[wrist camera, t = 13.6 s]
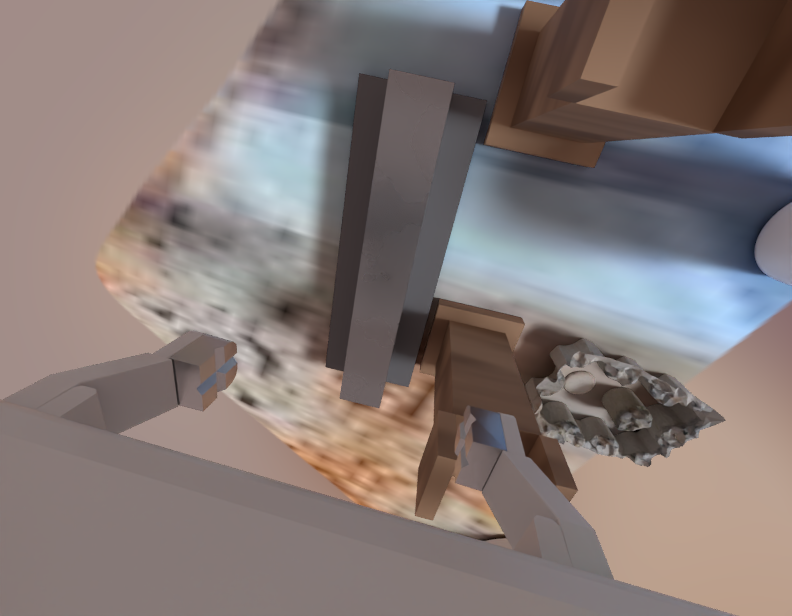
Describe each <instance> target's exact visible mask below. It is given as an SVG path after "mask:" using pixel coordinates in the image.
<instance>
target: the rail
mask: <svg viewBox="0 0 792 616" xmlns="http://www.w3.org/2000/svg"><path fill="white" fill-rule="evenodd" d="M453 89H454V83H453V82H449V81H444V80H439V79H435V78H430V77H425V76H421V75H416V74H411V73H406V72H402V71H397V70H392V69H389V76H388V82H387V89H386V95H385V102H384V109H383V115H382V122H381V128H380V135H379V142H378V148H377V155H376V162H375V168H374V175H373V181H372V188H371V195H370V201H369V208H368V214H367V221H366V228H365V234H364V241H363V248H362V254H361V261H360V267H359V274H358V281H357V287H356V294H355V300H354V307H353V314H352V320H351V327H350V334H349V340H348V347H347V353H346V360H345V367H344V373H343V380H342V386H341V393H340V399H344V400H348V401H352V402H356V403H360V404H364V405H368V406H372V407H376V408H379V407H380V403H381V399H382V395H383V391H384V387H385V383H386V379H387V375H388V370H389V366H390V362H391V357H392V353H393V349H394V345H395V340H396V336H397V332H398V327H399V323H400V319H401V314H402V310H403V306H404V301H405V297H406V293H407V289H408V284H409V280H410V276H411V271H412V267H413V263H414V258H415V254H416V250H417V245H418V241H419V237H420V233H421V228H422V224H423V220H424V215H425V211H426V207H427V202H428V198H429V194H430V189H431V185H432V181H433V177H434V172H435V168H436V164H437V159H438V155H439V151H440V146H441V142H442V138H443V134H444V129H445V125H446V121H447V116H448V112H449V108H450V103H451V99H452V95H453Z"/></svg>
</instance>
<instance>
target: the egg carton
mask: <svg viewBox="0 0 792 616" xmlns="http://www.w3.org/2000/svg"><path fill="white" fill-rule="evenodd" d="M550 357H551V358H552V360H553V362H554V364H555V366H556V367H555V370H554V371H553V373H552V374H551V375H549V376H547V377H544V378H531V379H530V380H529V381H528V382H527V383H526V385H525V388H526V390H527V393H528V396H529V399H530V401H531V404H532V407H533V411H534V415H535V418H536V421H537V424H538V426H539V429H540V432H541V435H542V436H546V437H550V438H554V439H557V440H558V442H559V443H562V444H564V442H565V441H567V442H569V443H571V444H573V445H574V446H576V447H580V446H581V447H584V448H587V449H590V450H592V451H594V452H595V453H597V454H601V455H606V456H612V457H613V456H616V457H619V458H625V457H628V458H630V459H631V460H632V461H633V462H634V463H635V464H638V465H641V466H642V465H644V466H647V467H648V466H650V465H651V458H653V457H654V456H656V455H659V454H661V455H663V456H664V457H666V458H667V457H669V455H670V452H671V450H672V449H673V448H678V447H680V446H683V445H684V444H685V443H686V442H687V441H689V440H692V439H694V438H698V435H699V431H700V430H702V429H705V428H708V427H710V426H713V425H716V424H718V423H721V422H723V421H725V419H724V417H722V416H721V415H720V414H719V413H718V412H716V411H715V410H714V409H712V408H711V407H710V406H708V405H707V404H705V403H704V402H702V401H701V400H699V399H698V398H697V397H695V396H693V395H692V394H691V392H689V391H688V390H687V389H686V388H685V387H684V386H683V385H682V384H681V383H680V382H679V381H678V380H677V379H676V378H675V377H672V376H670V375H668V374H663V375H662V376H660V377H658V378H656V377H654V376H652V375H650V374H648V373H647V372H645V371H644V370H643V369H642V368H641V367H640V366H639V365H638V364H637V362H636V361H635V360H633V359H631V358H628V357H626V356H623V357H621V358H619V359H617V360H614V359H611V358H607V357H604V356H603V354H602V353H601V352H600V350H599V349H598V348H597V347H596V345H595V344H594V343H593V342H591V341H589V340H587V339H583V338H582V339H580V340H578V341H577V342H576V343H574V344H571V345H565V346H564V345H558V346H556V347H555V348H554V349H553V351H551V352H550ZM594 361H596V362H597V364H598V365H599V366H600V368H601V369H602V370H603V372H604V373H605V375H606V376H607V377H608V378H610V379H613V380H615V381H618V382H619V383H620V384H621V385H622V386H625V385H629V384H633V383H636V382H637V380H639V381H640V382H641V384H642V385H643V386H644V387H645V388H646V390H647V391H648V392H649V393H650V394H651V396H652V397H654V399H655V400H656V401H657V402H659V403H661V404H655V405H651V406H648V407H645V406H644V405H643V403H642V402H641V401H640V400H639V398H638V397H637V396H636V395H635V394H634V392H633V391H632V390H630V389H628V388H622V387H621V388H615V389H611V390H609V391H608V392H606V393H605V394H604V396H603V398H602V403H603V405H604V407H605V409H606V410H607V412H608V413H609V415H610V417H611V418H612V420H613V421H614V423H615V425H616V427H617V429H618V430H625V432H623V433H619V434H618V435H616V436H613V434H612V433H611V431H610V430H609V428H608V427H607V425H606V423H605V421H603V420H602V419H601V418H598V417H586V418H583V419H581V420H577V419H574V418H573V416H572V414H571V412H570V410H569V409H568V407H567V406H566V404H564V403H562V402H557V401H551V402H548V403H545V404H544V405H542V400H541V397H540V395H544V396H548V395H552V394H554V393H556V392H558V391H560V390H561V389H563V387H564V388H565V390H566V391H568V392H569V393H572V394H576V395H578V394H584V393H587V392H589V391H591V390H592V389H593V387H594V386H595V382H596V381H595V378H594V376H593V375H592V374H591V373H589V372H586V371H577V372H573V373H571V374H569V375H568V376H567V377H566V378H564V376H563V374H562V372H561V370H560V369H561V368H562V367H563V366H565V365H568V366H570V367H571V368H572V367H585V366H586V365H588V364H590V363H592V362H594Z"/></svg>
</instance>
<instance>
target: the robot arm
mask: <svg viewBox="0 0 792 616" xmlns="http://www.w3.org/2000/svg"><path fill="white" fill-rule="evenodd" d="M236 353H237V346H236V344H235V343H234V342H233V341H229V340H226V339H222V338H219V337H215V336H212V335H209V334H205V333H201V332H198V331H188V332H187V333H185V334H184V335H182V336H180V337H179V338H177V339H176V340H174V341H172V342H171V343H169V344H168V345H166V346H164V347H163V348H161V349H159V350H158V351H156V352H155V353H153V354H150V353H145V354H141V355H136V356H132V357H127V358H123V359H119V360H114V361H109V362H105V363H100V364H96V365H92V366H87V367H83V368H78V369H74V370H69V371H65V372H60V373H56V374H51V375H49V376H47V377H45V378H43V379H41V380H40V381H37V382H35V383H34V384H32V385H30V386H28V387H26V388H24V389H22V390H20V391H18V392H16V393H14V394H12V395H11V396H9V397H7V398H5V399H3V400H0V616H736V615H733V614H730V613H727V612H723V611H720V610H716V609H713V608H709V607H706V606H702V605H699V604H695V603H692V602H689V601H686V600H682V599H678V598H675V597H672V596H668V595H665V594H662V593H658V592H655V591H651V590H648V589H644V588H641V587H638V586H634V585H631V584H628V583H624V582H621V581H617V580H614V578H613V575H612V573H611V570H610V568H609V565H608V563H607V560H606V558H605V555H604V553H603V550H602V547H601V545H600V542H599V540H598V537H597V535H596V532H595V530H594V529H593V528H592V527H591V526H590V524H589V523H588V522H587V521H586V520H585V519H584V518H583V517H582V515H581V514H580V513H579V512H578V511H577V510H576V509H575V508H574V507H573V506H572V504H571V503H570V502H569V501H568V500H567V499H566V497H565V496H564V495H563V494H562V493H561V492H560V491H559V490H558V489H557V487H556V486H555V485H554V484H553V483H552V482H551V481H550V480H549V478H548V477H547V476H546V475H545V474H544V473H543V472H542V471H541V469H540V468H539V467H538V466H537V465H536V464H535V463H534V462H533V460H532V459H531V458H529V457H526V456H525V452H524V449H523V445H522V441H521V437H520V433H519V430H518V426H517V422H516V418H515V417H514V416H512V415H508V414H503V413H499V412H498V413H497V412H494V411H490V410H486V409H482V408H479V407H475V406H471V405H468V406H467V407H466V409H465V412H464V421H463V422H462V423H460V424H459V427H458V430H457V434H456V438H455V454H456V455H457V457H458V458H457V460H456V463H455V483H457V484H460V485H463V486H467V487H470V488H473V489H476V490H479V491H482V494H483V496H484V498H485V500H486V501H487V503H488V505H489V507H490V509H491V510H492V512H493V514H494V516H495V518H496V520H497V521H498V523H499V525H500V527H501V529H502V531H503V532H504V534H505V536H506V538H503V539H493V540H487V541H481V540H477V539H474V538H471V537H467V536H464V535H460V534H457V533H454V532H450V531H447V530H443V529H440V528H437V527H433V526H430V525H426V524H423V523H420V522H416V521H413V520H409V519H406V518H403V517H399V516H396V515H392V514H389V513H385V512H382V511H379V510H375V509H372V508H368V507H365V506H362V505H358V504H355V503H351V502H348V501H345V500H341V499H338V498H334V497H331V496H327V495H324V494H321V493H317V492H314V491H311V490H307V489H304V488H300V487H297V486H294V485H290V484H286V483H283V482H280V481H276V480H273V479H270V478H266V477H263V476H259V475H256V474H253V473H249V472H246V471H242V470H239V469H236V468H232V467H229V466H225V465H221V464H218V463H215V462H212V461H208V460H205V459H201V458H198V457H194V456H191V455H188V454H184V453H180V452H178V451H174V450H171V449H167V448H164V447H160V446H157V445H153V444H150V443H147V442H143V441H140V440H136V439H133V438H130V437H126V436H123V435H120V434H119V433H121V432H123V431H125V430H127V429H129V428H132V427H134V426H136V425H138V424H141V423H143V422H145V421H147V420H149V419H151V418H154V417H156V416H158V415H160V414H162V413H165V412H167V411H169V410H171V409H174V408H176V407H178V405H180V406H184V407H188V408H192V409H196V410H200V411H204V410H205V409H206V408H207V407H208V406H209V405H210V404H211V403H212V402H213V401H214V400H215V399H216V398H217V392H219V391H222V390H225V389H227V387H228V386H229V385H230V384H231V383H232V382H233V380H234V378H235V376H236V372H237V362H236V360H235V359H234V357H233V356H234V355H235V354H236Z"/></svg>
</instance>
